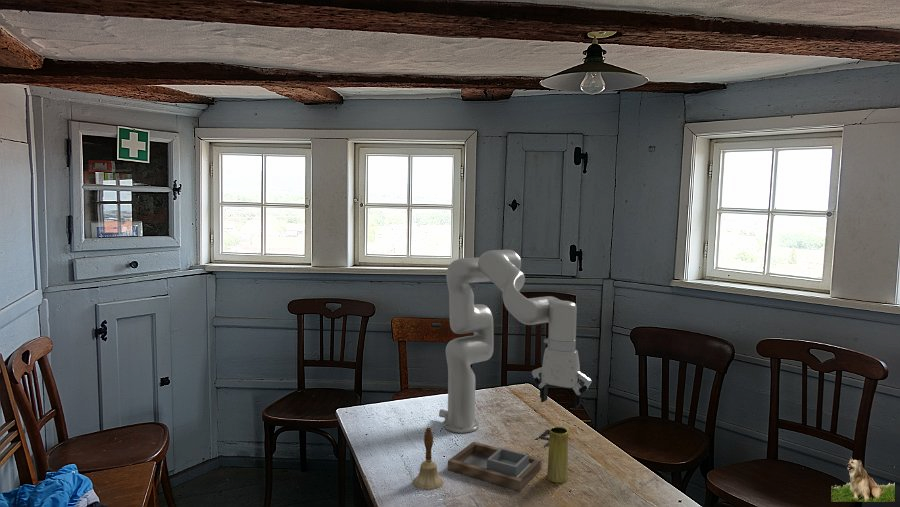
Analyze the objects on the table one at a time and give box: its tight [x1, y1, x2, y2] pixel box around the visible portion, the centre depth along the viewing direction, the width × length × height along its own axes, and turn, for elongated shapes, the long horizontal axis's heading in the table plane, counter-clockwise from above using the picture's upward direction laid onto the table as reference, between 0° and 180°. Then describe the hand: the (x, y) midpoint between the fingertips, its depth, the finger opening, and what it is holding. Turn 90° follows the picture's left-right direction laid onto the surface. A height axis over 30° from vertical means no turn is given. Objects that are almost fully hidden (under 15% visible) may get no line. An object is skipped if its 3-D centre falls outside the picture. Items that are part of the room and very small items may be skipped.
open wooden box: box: [447, 441, 543, 492], centre depth 169 cm, size 23×16×3 cm
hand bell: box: [413, 427, 444, 491], centre depth 161 cm, size 8×8×16 cm
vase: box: [546, 426, 569, 484], centre depth 164 cm, size 6×6×14 cm
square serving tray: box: [485, 447, 531, 477], centre depth 167 cm, size 11×12×4 cm
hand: (560, 404), depth 163 cm, fingers open, 9 cm apart
